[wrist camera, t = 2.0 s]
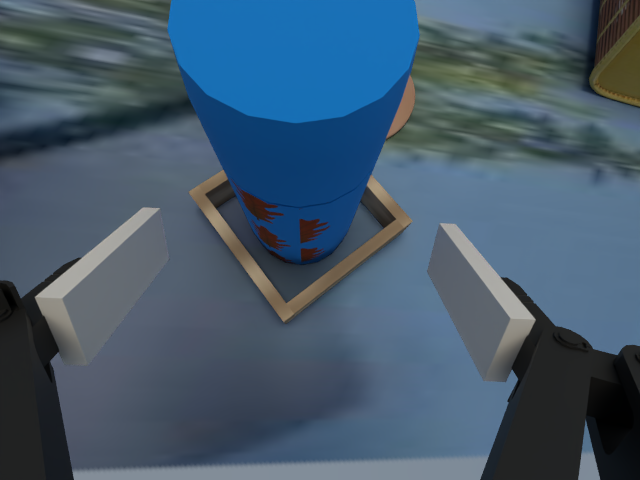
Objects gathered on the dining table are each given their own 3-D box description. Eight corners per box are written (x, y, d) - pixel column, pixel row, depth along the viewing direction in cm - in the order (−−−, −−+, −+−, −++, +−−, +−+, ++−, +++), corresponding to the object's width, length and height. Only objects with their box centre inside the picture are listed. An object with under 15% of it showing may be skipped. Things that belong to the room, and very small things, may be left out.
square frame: (200, 206, 38) (188, 191, 34) (313, 132, 41) (314, 111, 37) (286, 323, 34) (283, 321, 31) (401, 232, 38) (412, 221, 34)
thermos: (295, 160, 40) (283, -107, 16) (366, 213, 38) (471, 7, 14) (233, 226, 37) (105, 24, 13) (307, 286, 36) (312, 181, 12)
